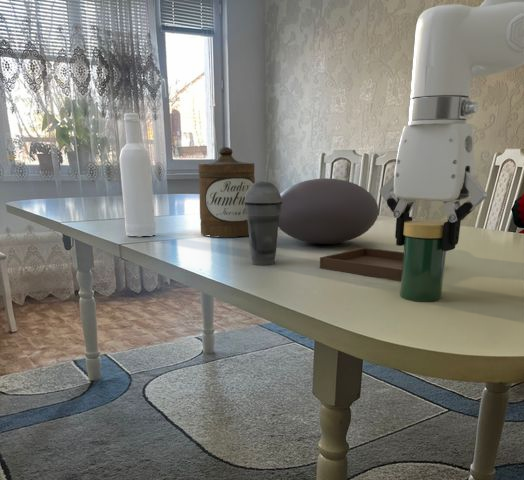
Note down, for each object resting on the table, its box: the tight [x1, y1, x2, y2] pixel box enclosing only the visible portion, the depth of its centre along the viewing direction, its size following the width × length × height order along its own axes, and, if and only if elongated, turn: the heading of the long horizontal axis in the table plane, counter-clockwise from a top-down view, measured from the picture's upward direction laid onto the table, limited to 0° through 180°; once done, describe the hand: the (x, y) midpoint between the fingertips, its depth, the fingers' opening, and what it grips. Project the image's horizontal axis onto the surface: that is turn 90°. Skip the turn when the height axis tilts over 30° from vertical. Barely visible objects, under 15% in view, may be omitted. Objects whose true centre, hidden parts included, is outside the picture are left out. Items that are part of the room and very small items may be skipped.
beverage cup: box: [244, 155, 282, 266], centre depth 104 cm, size 7×7×20 cm
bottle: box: [119, 112, 157, 236], centre depth 140 cm, size 8×8×30 cm
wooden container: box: [197, 146, 256, 238], centre depth 143 cm, size 15×15×22 cm
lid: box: [403, 219, 447, 238], centre depth 78 cm, size 6×6×2 cm
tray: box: [319, 246, 404, 282], centre depth 102 cm, size 17×15×2 cm
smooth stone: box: [278, 178, 379, 245], centre depth 128 cm, size 25×25×15 cm
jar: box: [399, 236, 447, 303], centre depth 80 cm, size 6×6×10 cm
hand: (425, 246), depth 79 cm, fingers closed on lid, 6 cm apart
